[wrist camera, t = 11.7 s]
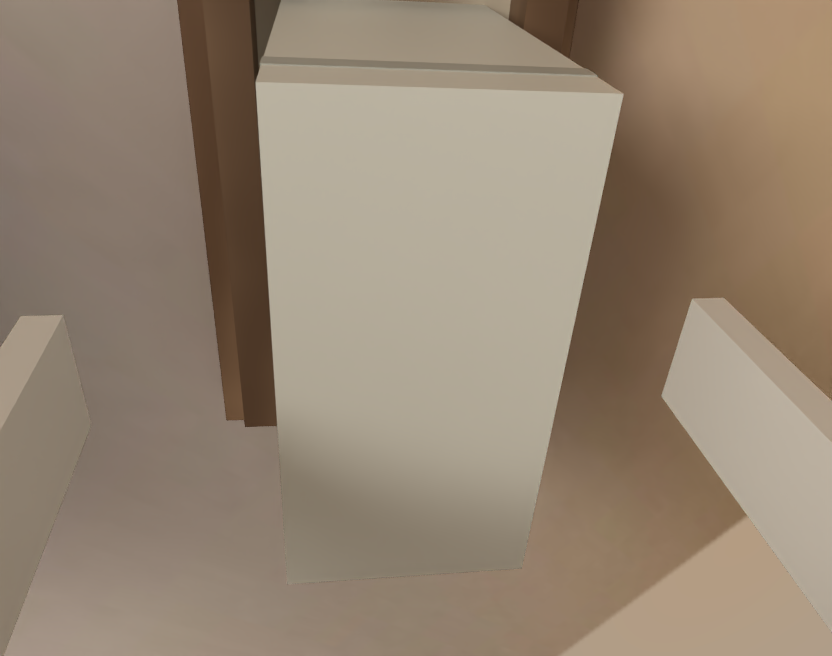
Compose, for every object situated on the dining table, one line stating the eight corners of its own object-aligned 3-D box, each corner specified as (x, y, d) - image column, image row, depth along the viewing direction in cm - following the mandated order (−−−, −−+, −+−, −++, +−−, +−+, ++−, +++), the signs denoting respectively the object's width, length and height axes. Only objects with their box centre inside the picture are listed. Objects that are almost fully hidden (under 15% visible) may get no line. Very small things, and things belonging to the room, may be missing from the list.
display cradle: (230, 397, 29) (221, 454, 26) (165, -182, 19) (138, -197, 16) (502, 388, 31) (522, 440, 28) (586, -149, 20) (632, -157, 17)
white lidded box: (296, 341, 26) (286, 585, 17) (282, -6, 20) (253, 80, 10) (451, 338, 27) (522, 568, 18) (485, 4, 21) (625, 92, 11)
